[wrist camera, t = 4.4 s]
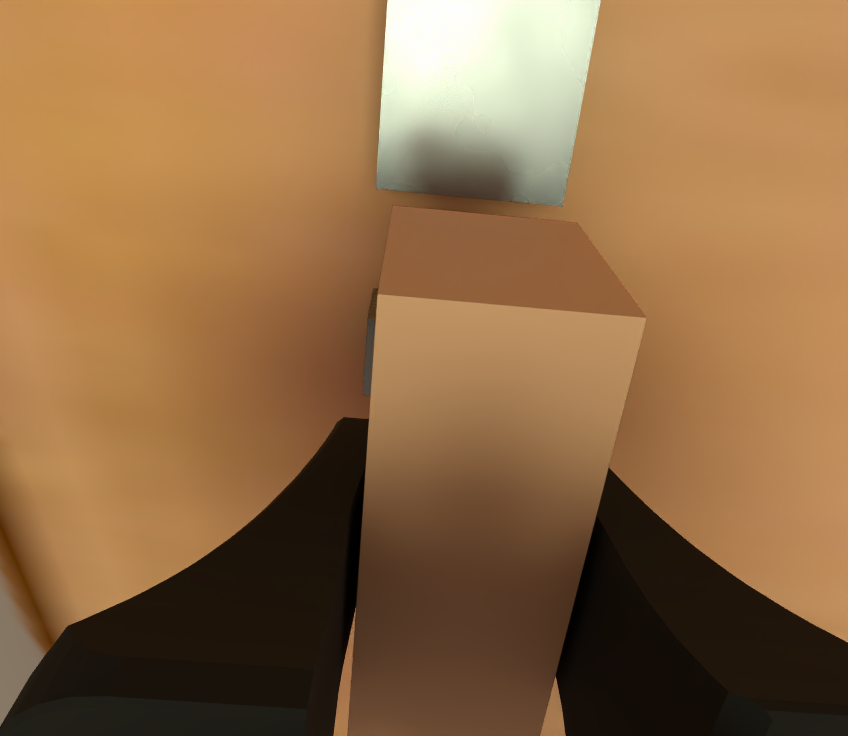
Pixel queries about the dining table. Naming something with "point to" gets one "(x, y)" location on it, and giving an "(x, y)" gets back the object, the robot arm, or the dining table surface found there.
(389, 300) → the tan rectangular block
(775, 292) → the dining table surface
